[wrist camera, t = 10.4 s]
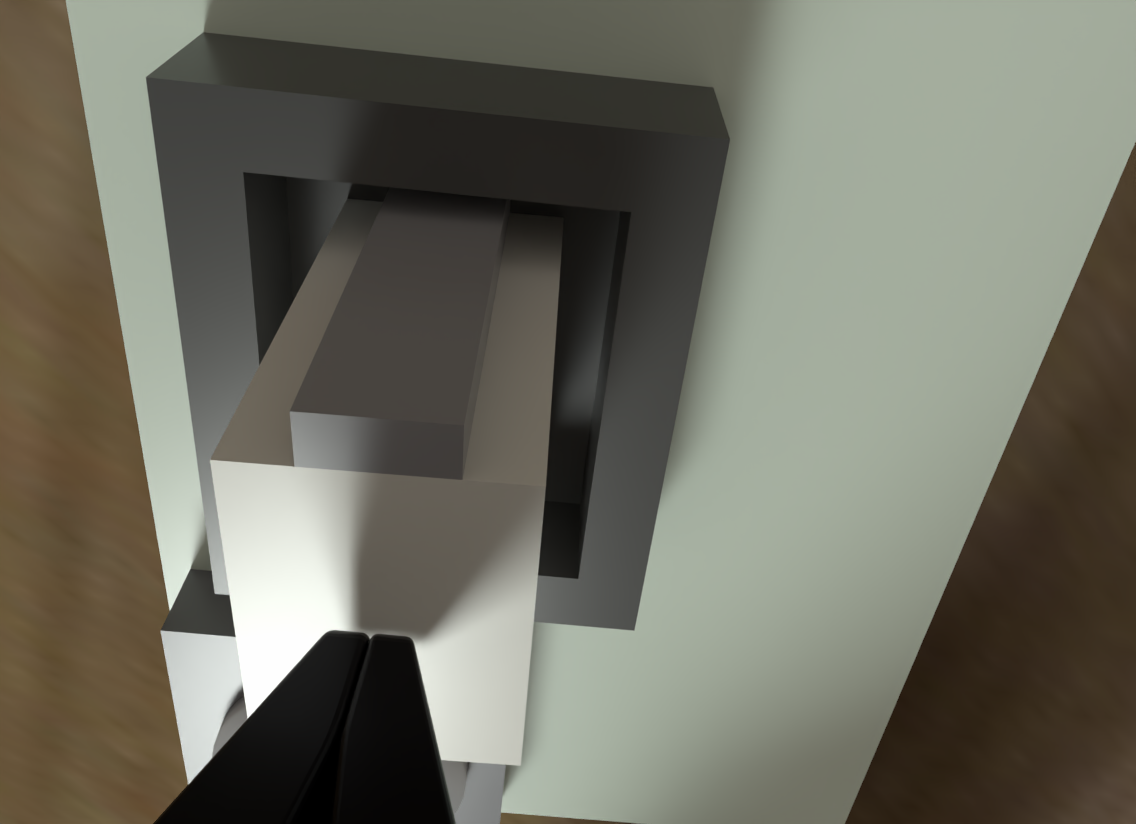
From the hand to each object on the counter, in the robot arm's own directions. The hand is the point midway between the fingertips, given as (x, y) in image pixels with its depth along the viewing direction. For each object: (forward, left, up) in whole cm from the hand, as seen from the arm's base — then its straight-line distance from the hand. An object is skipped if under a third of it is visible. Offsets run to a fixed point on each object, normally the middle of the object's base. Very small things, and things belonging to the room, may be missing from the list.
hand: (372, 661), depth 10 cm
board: (-3, -2, -8) cm, 8 cm away
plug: (0, 0, -6) cm, 6 cm away
